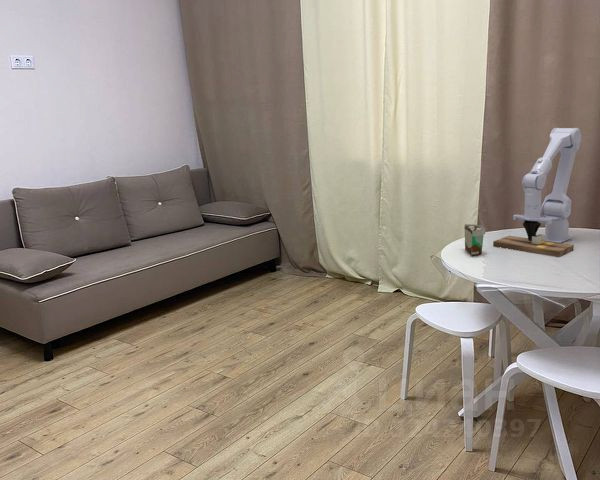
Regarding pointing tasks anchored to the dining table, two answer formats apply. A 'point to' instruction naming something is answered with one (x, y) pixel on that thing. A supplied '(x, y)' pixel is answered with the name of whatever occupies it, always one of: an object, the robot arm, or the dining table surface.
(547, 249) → the fader console
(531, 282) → the dining table surface
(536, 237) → the fader knob
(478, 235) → the food container
